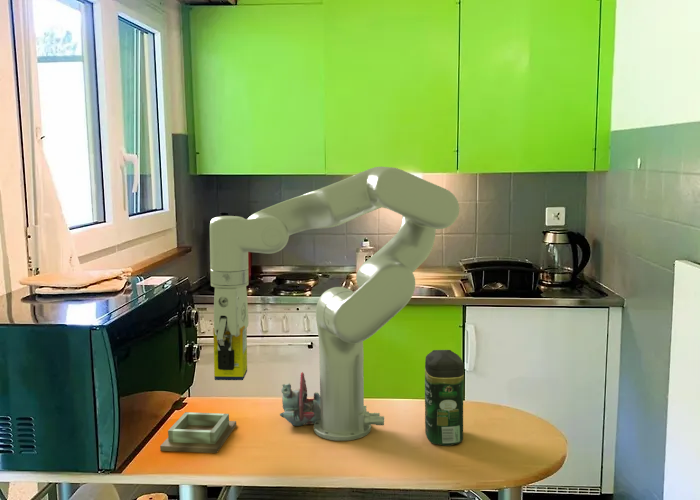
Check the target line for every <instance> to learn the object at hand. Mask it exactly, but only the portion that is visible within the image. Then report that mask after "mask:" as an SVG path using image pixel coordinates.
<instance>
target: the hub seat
mask: <svg viewBox="0 0 700 500" xmlns="http://www.w3.org/2000/svg"><path fill="white" fill-rule="evenodd" d="M229 414H230V413H215V412H214V413H213V412H190V411H188V412H186V411H185V412H184V413H183V414H182V415H181V416H180V417H179V419H178V420H176V421H175V422H174V424H173V425H171V427H170V428H169V429H168V430H167V436H168V437H167V438H166V439H165V440H164V441H163V443H161V445H160V446H159V447H160V449H159V450H160V451H163V452H164V451H165V452H180V453H181V452H183V453H184V452H186V453H206V454H209V453H210V454H211V453H212V454H218V453H219V451H220V449H221V448H222V446H223V445H224V444H225V442H226V441H227V439H228V438H229V436H230V435H231V434H232V432H233V431H234V429H235V428H236V427H237V421H236V420H230V415H229Z"/></svg>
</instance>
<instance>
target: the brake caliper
mask: <svg viewBox="0 0 700 500" xmlns="http://www.w3.org/2000/svg"><path fill="white" fill-rule="evenodd" d="M306 382H307V381H306V378H305V373H304V372H303V371H302V372H300V379H299V388H292V384H291V383H290V382H289V383H286V384H285V383H283V384H282V385H281V386H282V388H281V394H282V398H281V399H282V401H281V403H282V409H283V412H280V413H279V416H280V417H281V418H282V419H285V421H287V422H288V423H290V424H291V425H292V426H295V427H301V426H303V425H314V423H315V422H316V421H317V420H320V419H321V409H320V392H318V391H316V392H314V393H313V398H308V388H307V383H306Z"/></svg>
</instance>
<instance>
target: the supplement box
mask: <svg viewBox="0 0 700 500" xmlns="http://www.w3.org/2000/svg"><path fill="white" fill-rule="evenodd" d="M247 328H248V327H247ZM247 328H246V329H245V326H243V327H241V328H240V335H239V336H238V337H235V335H233V348H232V350H234V369H233V370H219V369H218V343H217V342H218V341H217V336H216V335H215V332H214V327H213V331H212V333H213V368H214V370H213V371H214V372H213V374H214V375H213V376H214V380H215V381H244V380H245V377H246V374H247V373H248V344H247V343H248V341H247V338H248V336H247V332H248V331H247ZM218 329H219V328H218ZM217 332H218V330H217ZM230 334H231V333H230V332H226V333H225V335H230ZM225 340H228V343H229V338H226V339H225Z"/></svg>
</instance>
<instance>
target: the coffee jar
mask: <svg viewBox="0 0 700 500" xmlns="http://www.w3.org/2000/svg"><path fill="white" fill-rule="evenodd" d="M464 365H465V364H464V361H463V359H462V358H461V356H460V355H459V354H457V353H456V352H454V351H452V350H451V349H434V350H432V351H430V352H429V353H427V355H426V356H425V363H424V421H425V422H424V427H425V428H424V431H425V432H424V433H425V436H426V438H427V440H428V441H429V442H430V443H431V444H434V445H440V446H444V447H445V446H449V447H450V446H453V445H457V444H458V445H459V444H461V443H462V442H463V440H464V381H465V380H464V378H465V377H464V376H465V375H464V374H465V367H464Z"/></svg>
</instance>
